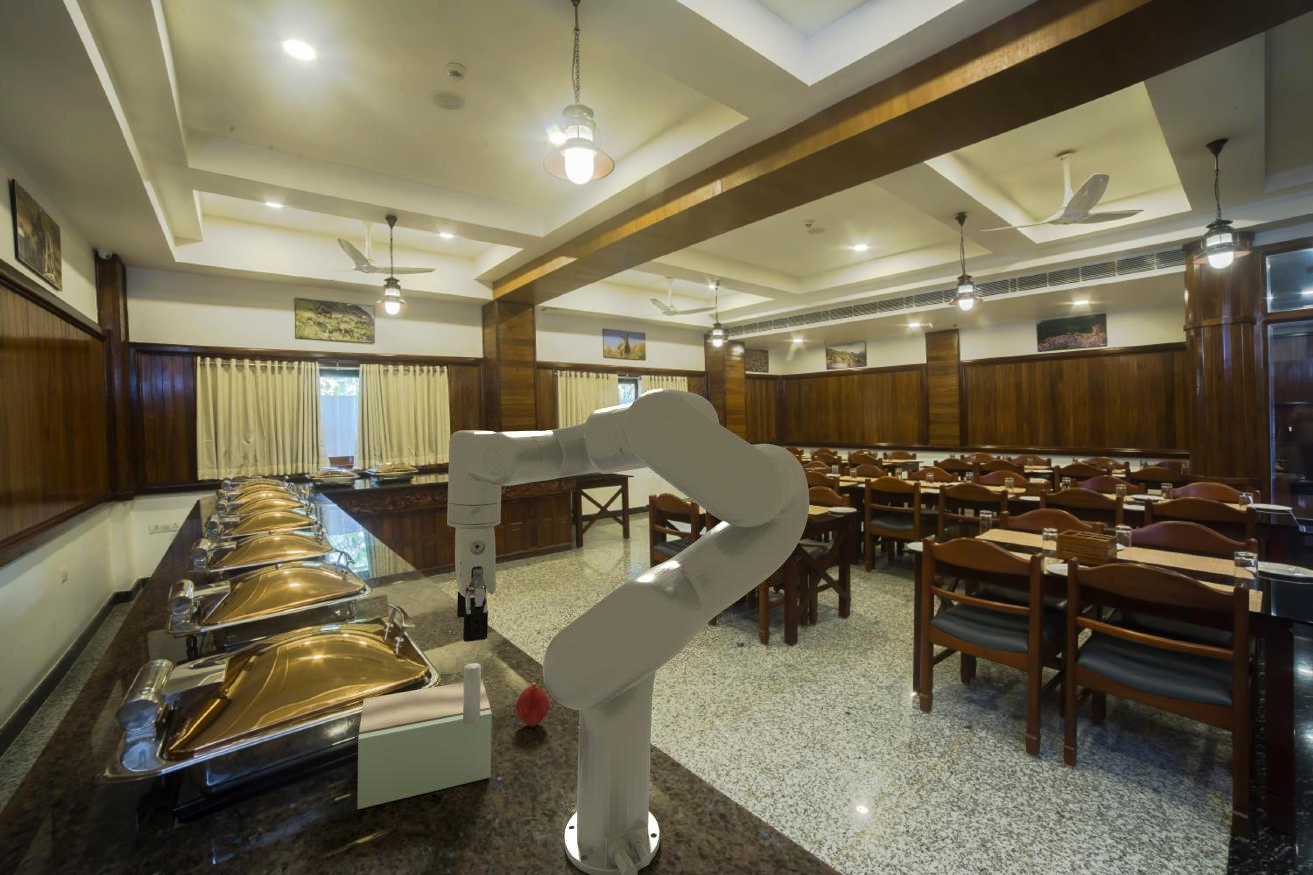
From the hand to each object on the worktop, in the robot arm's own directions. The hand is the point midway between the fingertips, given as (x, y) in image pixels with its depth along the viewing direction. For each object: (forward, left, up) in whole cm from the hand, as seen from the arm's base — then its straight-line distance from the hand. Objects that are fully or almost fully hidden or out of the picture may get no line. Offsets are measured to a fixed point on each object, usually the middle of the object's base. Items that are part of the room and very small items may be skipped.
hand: (471, 627), depth 82 cm
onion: (+13, -12, -24) cm, 30 cm away
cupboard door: (0, +6, -24) cm, 25 cm away
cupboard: (+7, +6, -24) cm, 26 cm away
